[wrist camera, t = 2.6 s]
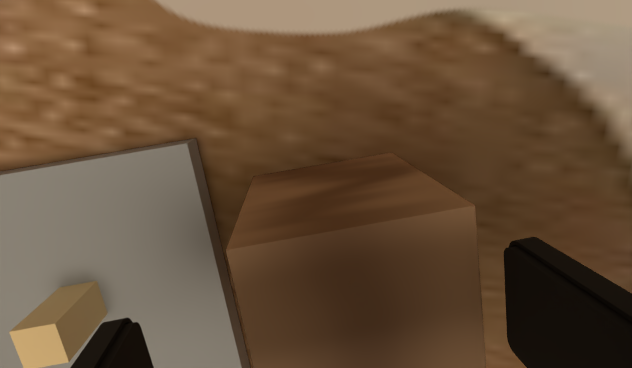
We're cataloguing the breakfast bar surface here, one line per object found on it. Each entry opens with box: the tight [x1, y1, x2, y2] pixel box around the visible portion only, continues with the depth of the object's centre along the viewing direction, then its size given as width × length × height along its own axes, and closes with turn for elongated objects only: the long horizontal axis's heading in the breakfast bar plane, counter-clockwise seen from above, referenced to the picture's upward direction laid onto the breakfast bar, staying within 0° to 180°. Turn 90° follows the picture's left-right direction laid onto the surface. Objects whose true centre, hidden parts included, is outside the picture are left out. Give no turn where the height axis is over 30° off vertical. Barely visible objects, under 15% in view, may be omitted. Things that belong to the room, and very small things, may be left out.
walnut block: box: [226, 152, 486, 368], centre depth 14 cm, size 6×6×8 cm
